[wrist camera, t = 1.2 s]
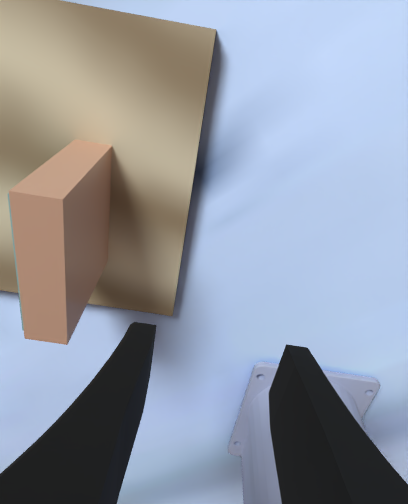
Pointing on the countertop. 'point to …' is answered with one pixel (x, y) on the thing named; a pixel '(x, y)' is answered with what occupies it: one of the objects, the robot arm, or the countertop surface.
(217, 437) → the countertop surface
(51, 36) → the board
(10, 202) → the tile
